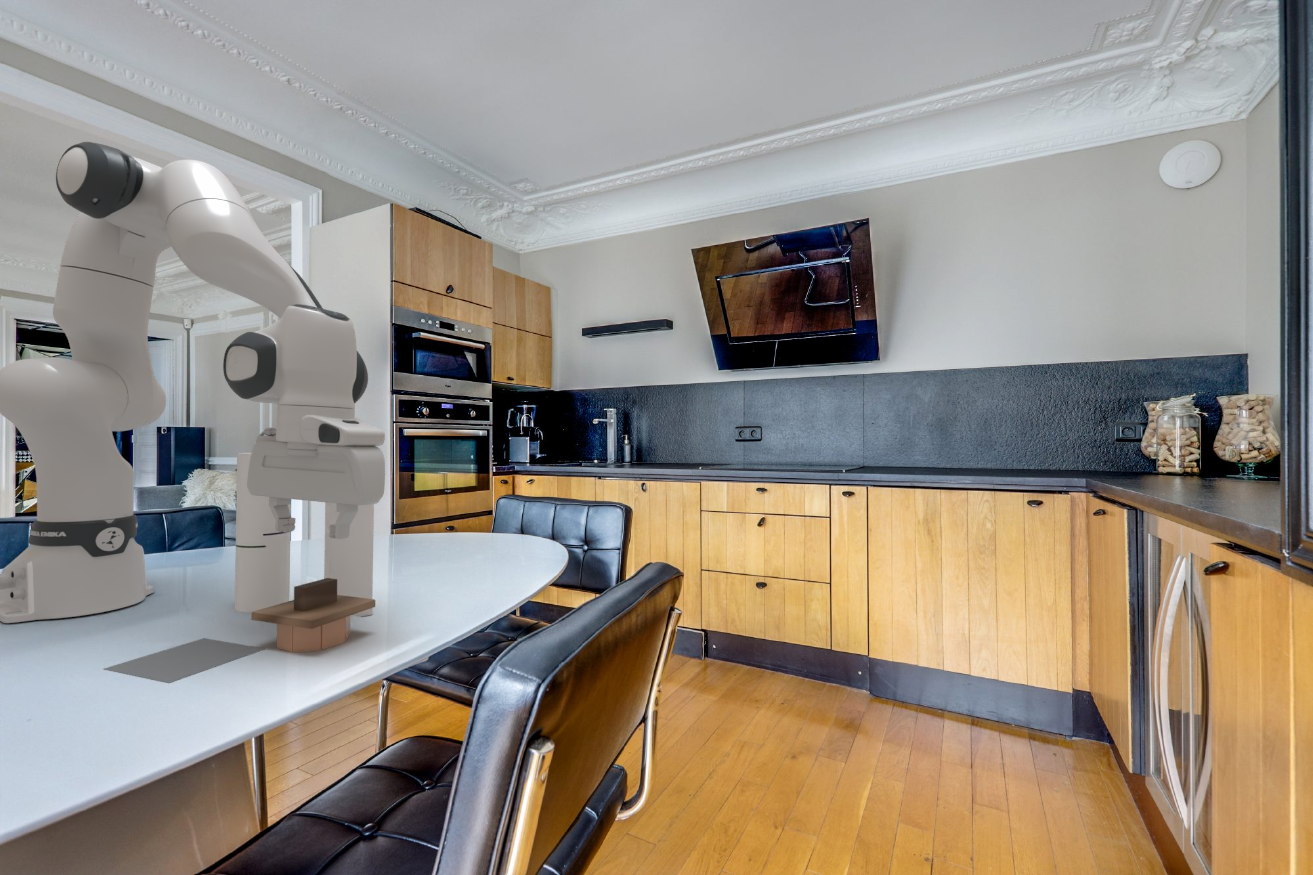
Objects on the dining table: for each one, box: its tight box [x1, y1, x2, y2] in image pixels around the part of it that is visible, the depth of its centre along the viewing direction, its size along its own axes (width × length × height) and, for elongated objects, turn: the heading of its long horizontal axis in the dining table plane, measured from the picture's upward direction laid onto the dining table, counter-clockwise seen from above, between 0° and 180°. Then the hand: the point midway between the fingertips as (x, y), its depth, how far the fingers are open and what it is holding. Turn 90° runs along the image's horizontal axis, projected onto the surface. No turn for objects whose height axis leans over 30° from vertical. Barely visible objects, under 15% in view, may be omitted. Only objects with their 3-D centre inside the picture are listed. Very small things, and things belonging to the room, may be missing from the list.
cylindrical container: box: [234, 452, 292, 613], centre depth 92 cm, size 7×7×25 cm
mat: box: [103, 637, 266, 684], centre depth 70 cm, size 11×11×1 cm
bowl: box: [276, 616, 351, 653], centre depth 77 cm, size 8×8×5 cm
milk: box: [323, 502, 375, 618], centre depth 92 cm, size 6×6×22 cm
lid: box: [250, 578, 376, 629], centre depth 77 cm, size 10×10×4 cm
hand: (311, 534), depth 77 cm, fingers open, 8 cm apart
